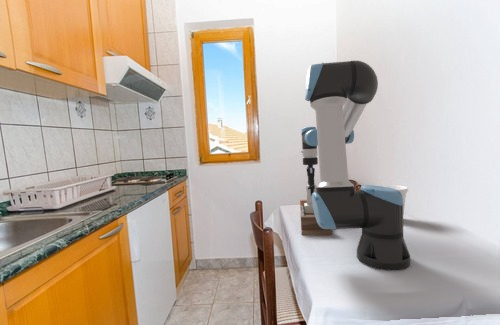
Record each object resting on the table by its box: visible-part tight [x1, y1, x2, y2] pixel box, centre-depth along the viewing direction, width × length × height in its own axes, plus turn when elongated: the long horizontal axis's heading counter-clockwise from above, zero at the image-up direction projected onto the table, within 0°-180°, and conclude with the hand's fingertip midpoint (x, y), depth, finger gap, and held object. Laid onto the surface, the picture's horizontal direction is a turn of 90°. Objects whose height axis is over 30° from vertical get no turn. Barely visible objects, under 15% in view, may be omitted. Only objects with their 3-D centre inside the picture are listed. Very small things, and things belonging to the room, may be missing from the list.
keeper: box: [304, 184, 317, 213], centre depth 133 cm, size 6×8×14 cm
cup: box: [380, 184, 409, 216], centre depth 118 cm, size 12×12×15 cm
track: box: [299, 199, 332, 236], centre depth 122 cm, size 36×12×7 cm, turn 169°
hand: (311, 199), depth 133 cm, fingers open, 10 cm apart
